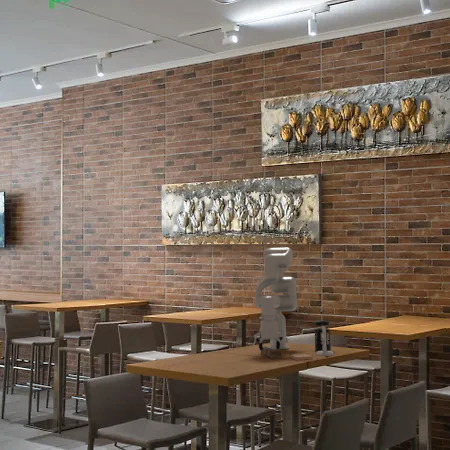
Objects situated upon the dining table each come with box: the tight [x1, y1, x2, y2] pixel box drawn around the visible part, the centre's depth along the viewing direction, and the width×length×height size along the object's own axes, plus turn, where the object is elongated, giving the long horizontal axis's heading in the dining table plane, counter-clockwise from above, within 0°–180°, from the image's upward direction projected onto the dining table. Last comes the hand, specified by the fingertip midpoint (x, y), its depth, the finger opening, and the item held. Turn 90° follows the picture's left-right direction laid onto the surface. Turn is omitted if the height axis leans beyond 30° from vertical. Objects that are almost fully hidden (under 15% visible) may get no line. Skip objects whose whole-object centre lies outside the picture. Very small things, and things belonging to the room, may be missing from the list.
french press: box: [313, 310, 332, 353], centre depth 428 cm, size 12×9×23 cm
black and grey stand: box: [315, 326, 335, 357], centre depth 411 cm, size 10×10×15 cm
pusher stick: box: [260, 346, 283, 360], centre depth 412 cm, size 23×6×4 cm, turn 15°
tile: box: [289, 353, 313, 361], centre depth 398 cm, size 2×9×10 cm
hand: (269, 349), depth 413 cm, fingers open, 9 cm apart
